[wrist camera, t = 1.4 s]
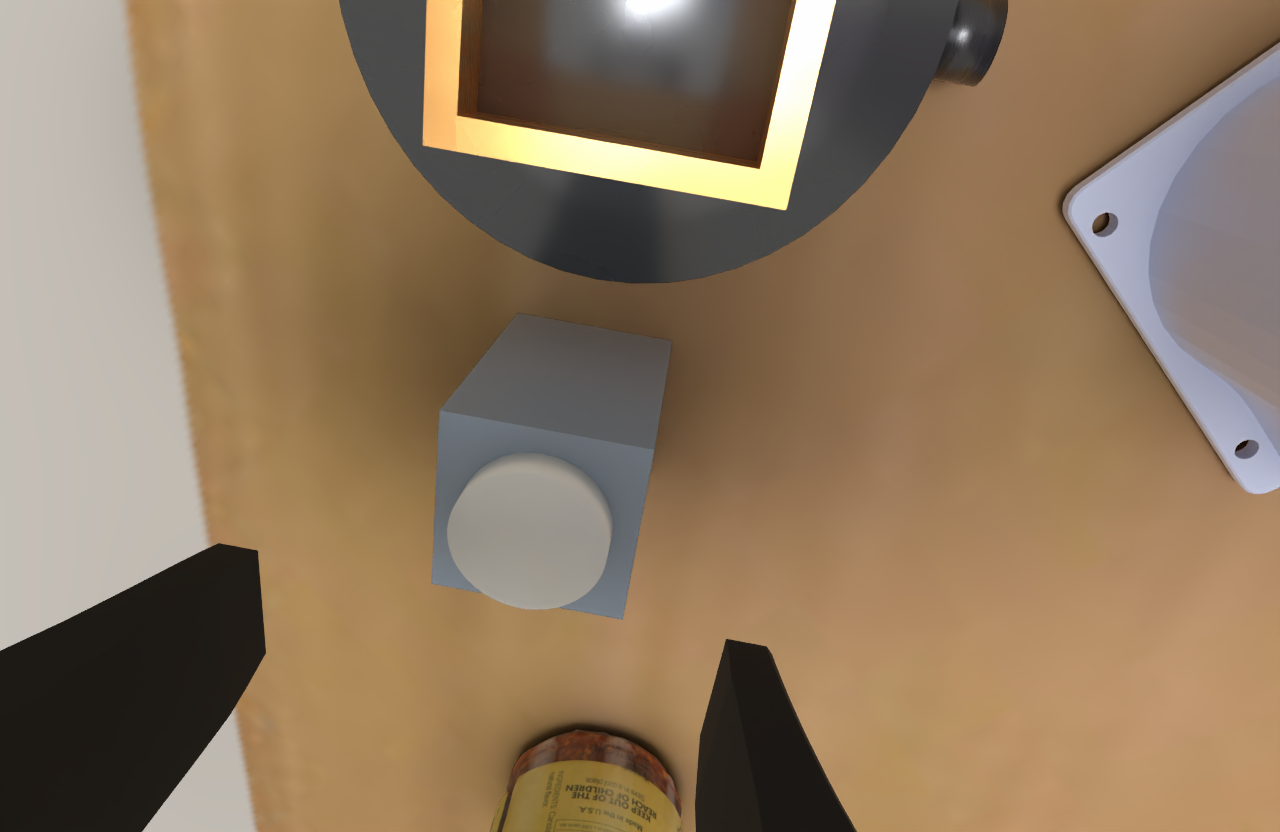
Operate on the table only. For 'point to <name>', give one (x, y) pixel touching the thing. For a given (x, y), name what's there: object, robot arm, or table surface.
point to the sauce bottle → (588, 788)
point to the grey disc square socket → (657, 115)
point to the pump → (549, 466)
